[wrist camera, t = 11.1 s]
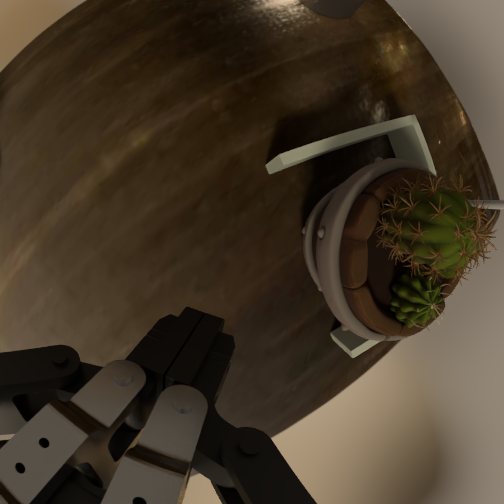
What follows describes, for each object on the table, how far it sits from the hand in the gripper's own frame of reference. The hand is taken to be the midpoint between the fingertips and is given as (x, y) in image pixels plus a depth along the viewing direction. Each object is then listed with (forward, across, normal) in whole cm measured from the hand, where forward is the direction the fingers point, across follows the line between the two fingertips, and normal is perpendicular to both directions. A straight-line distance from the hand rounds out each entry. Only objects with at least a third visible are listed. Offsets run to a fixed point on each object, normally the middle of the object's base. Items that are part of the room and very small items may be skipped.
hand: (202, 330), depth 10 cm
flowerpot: (+21, -8, 0) cm, 22 cm away
